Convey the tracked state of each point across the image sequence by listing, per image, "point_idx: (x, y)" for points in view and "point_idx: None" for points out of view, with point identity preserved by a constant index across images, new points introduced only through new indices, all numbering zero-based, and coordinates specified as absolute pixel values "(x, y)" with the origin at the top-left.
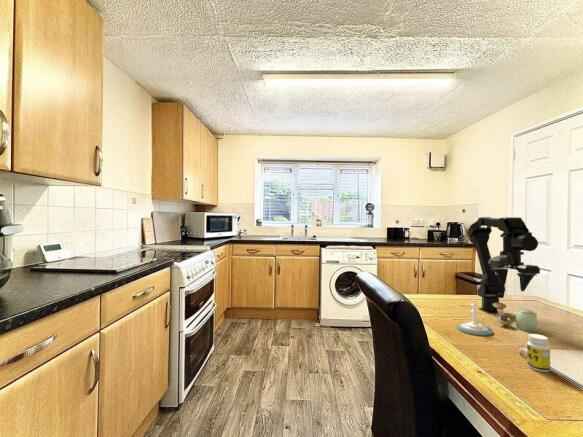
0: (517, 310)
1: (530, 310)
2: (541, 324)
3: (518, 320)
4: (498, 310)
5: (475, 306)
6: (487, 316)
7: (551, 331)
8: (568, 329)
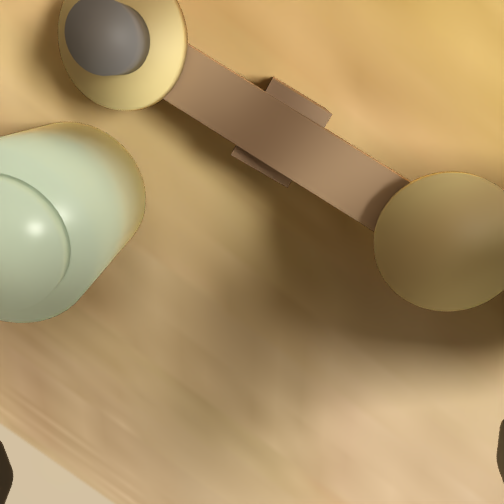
0: (79, 206)
1: (15, 304)
2: (200, 383)
3: (26, 131)
4: (349, 154)
5: None
6: (454, 98)
7: (45, 329)
8: (102, 455)
